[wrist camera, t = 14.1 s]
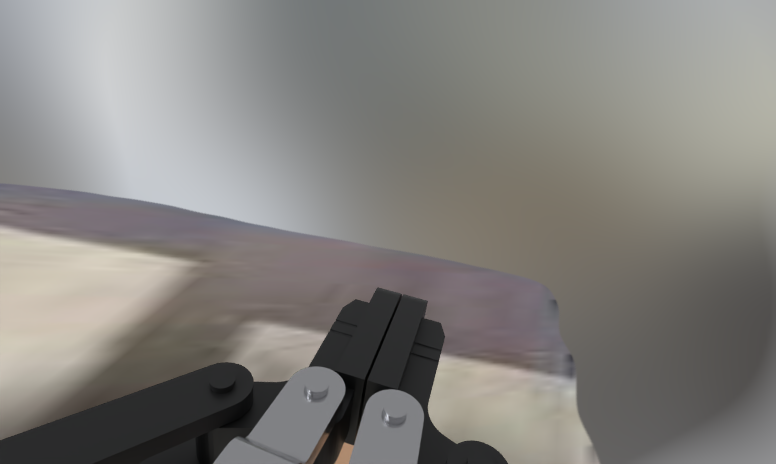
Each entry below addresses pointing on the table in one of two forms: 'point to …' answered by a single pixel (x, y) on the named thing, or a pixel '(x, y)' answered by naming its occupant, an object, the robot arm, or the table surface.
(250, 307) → the table surface
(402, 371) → the robot arm
